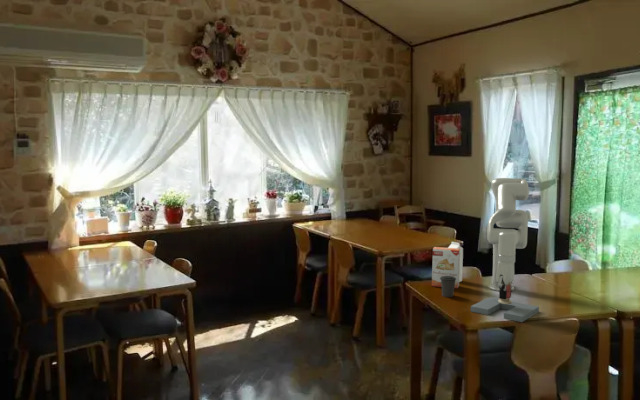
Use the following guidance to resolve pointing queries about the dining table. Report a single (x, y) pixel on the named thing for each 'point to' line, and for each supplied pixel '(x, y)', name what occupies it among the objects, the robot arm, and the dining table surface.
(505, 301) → the bobbin
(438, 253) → the cracker box
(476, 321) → the dining table surface
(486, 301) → the notched board
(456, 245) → the milk
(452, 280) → the coffee cup
